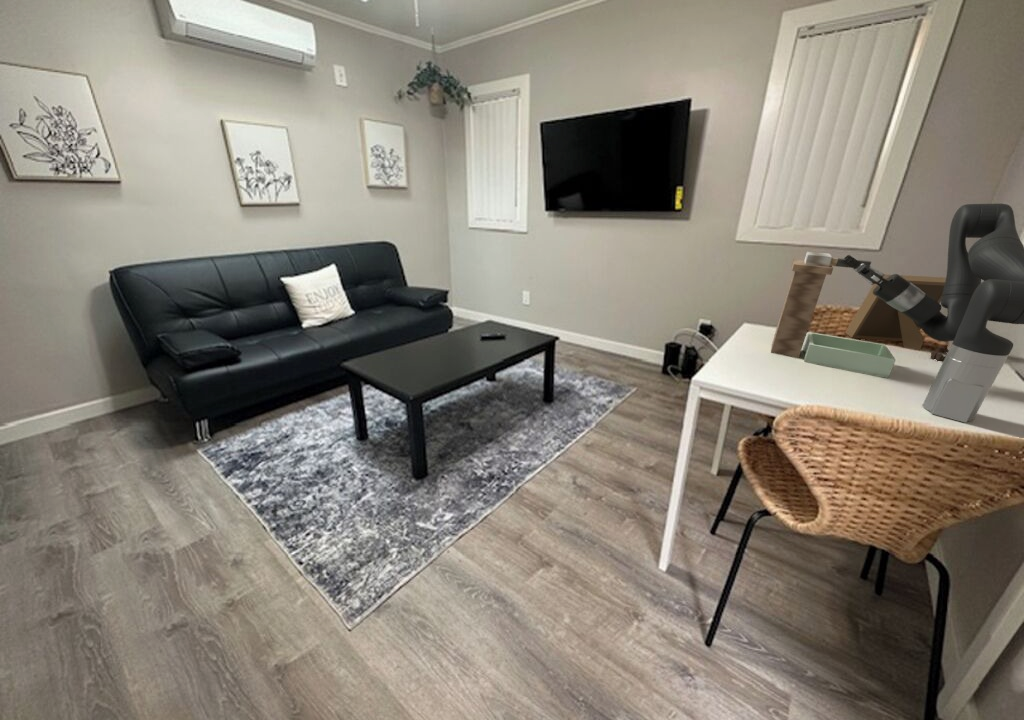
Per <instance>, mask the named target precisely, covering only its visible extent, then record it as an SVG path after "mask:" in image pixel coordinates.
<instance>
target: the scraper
mask: <svg viewBox="0 0 1024 720" xmlns="http://www.w3.org/2000/svg"><path fill="white" fill-rule="evenodd" d="M844 260H845V259H844V258H842V257H841V258H839V257H833V256H832V255H831V253H827V252H825V253H824V252H814V251H806V254H805V257H804V262H805V265H814V266H824V267H829V266H832V267H839V268H840V267H842V268H851V269H853V268H852V267H850V266H849V265H847V264H846V263H845V262H844ZM856 260H857V261H859V262H860V263H862V264H863V263H864V264H865V265H866V266H868V267H870V266H871V264H872V261H870V260H863V259H856ZM860 265H861V264H860Z"/></svg>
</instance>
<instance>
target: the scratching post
mask: <svg viewBox="0 0 1024 720" xmlns="http://www.w3.org/2000/svg"><path fill="white" fill-rule="evenodd" d="M804 260H805V259H804ZM804 260H803V259H795V258H794V259H792V262H791V272H792V273H793V274H792V276H791V280H790V283H789V286H788V290H787V292H786V297H785V299H784V303H783V306H782V308H781V313H780V316H779V320H778V322H777V326H776V329H775V332H774V335H773V338H772V339H773V340H772V343H771V348H770V353H772V354H775V355H781V356H786V357H792V358H797V359H799V358H800V354H801V352H802V350H803V346H804V343H805V340H806V337H807V334H808V332H809V328H810V325H811V321H812V319H813V316H814V313H815V309H816V308H817V303H818V301H819V297H820V295H821V292H822V288H823V285H824V282H825V279H826V276H828V275H829V276H831V275H832V273H833V270H834V266H829V267H824V266H814V265H805V262H804Z"/></svg>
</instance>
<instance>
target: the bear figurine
mask: <svg viewBox="0 0 1024 720" xmlns="http://www.w3.org/2000/svg"><path fill="white" fill-rule="evenodd" d="M939 351H942V352H943V353H946V354H947V353H948V351H949V349H948V348H947V347H945V348H944V347H940V348H939ZM943 353H939V352H937V351H931V353H930V359H931V360H934V359H936V360H937V361H936V360H935V361H936V362H938V361H942V362H943V361H944V359H945V357H946V355H943Z"/></svg>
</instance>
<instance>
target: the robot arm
mask: <svg viewBox="0 0 1024 720" xmlns="http://www.w3.org/2000/svg"><path fill="white" fill-rule="evenodd" d="M1016 227H1017V226H1016V221H1015V213H1014V209H1013V207H1012V206H1010V205H1009V204H1007V203H967V204H962V205H961V206H960V207H958V209H956V211H955V213H954V214H953V216H952V220H951V223H950V227H949V234H948V235H949V236H948V249H947V265H946V266H947V267H946V277H945V278H946V281H945V285H944V289H943V293H942V298H941V302H940V303H938V302H937V301H936V300H934V299H933V298H931V297H930V296H928V295H927V294H925V293H924V292H922V291H921V290H920V289H919V288H918V287H916V286H915V285H913V284H912V283H910V282H909V281H907V280H906V279H904V278H903V277H901V276H900V275H901V274H899V273H898V274H897V273H894V274H893V273H892V274H890V275H891V276H889V277H888V278H883V276H884V275H886V273H883V272H882V271H881V270H877V269H876V268H874V267H873V266H871V265H870V267H868V266H866V265H865V264H864V263H863V264H862V263H860V262H859V261H857V260H858V259H856V258H854V257H853V256H851V254H848V255H846V256H845V257H844V258H843V259H845V260H844V262H845V263H846V264H847V265H849V266H850V267H852V268H851V269H853V270H854V272H857V274H858V275H859V276H860V277H861V278H863V279H864V280H865V281H866V282H867V283H868V284H869V285H871V286H873V285H874V284H877V285H878V286H877V287H875V289H874V290H873V294H874V295H875V296H877V297H878V298H880V299H881V300H883V301H884V302H886V303H887V304H889V305H890V306H891V307H893V308H895V309H897V310H899V311H901V312H902V313H904V314H905V315H906V316H908V317H909V318H911V319H913V320H914V321H915V322H916V323H917V325H918V326H919V327H920V328H921V329H920V330H922V331H923V332H924V333H925V334H926V335H927V336H928V337H930V338H931V339H934V340H935V341H938V342H945V343H946V342H952V343H951V345H950V346H949V347H950V348H949V349H948V350H949V351H948V353H946V355H945V356H946V357H945V359H944V361H942V363H941V365H940V368H939V369H938V372H937V374H936V376H935V378H934V380H933V382H932V385H931V387H930V388H929V390H928V392H927V395H926V397H925V399H924V401H923V403H922V407H923V408H924V410H927V411H928V412H930V414H932V415H936V416H939V417H943V418H947V419H950V420H955V421H958V422H962V423H965V424H966V423H967V422H971V421H974V419H975V418H976V415H977V414H978V412H979V410H980V409H981V407H982V405H983V402H984V401H985V399H986V397H987V395H989V394H988V393H989V392H990V390H991V388H992V386H993V384H994V383H995V381H996V379H997V377H998V376H999V374H1000V371H1001V370H1002V368H1003V366H1004V364H1005V363H1006V361H1007V359H1008V358H1009V355H1010V354H1011V352H1012V350H1013V347H1014V343H1013V342H1012V341H1011V340H1010V339H1008V338H1005V337H1004V336H1001V335H999V334H996V333H994V332H992V331H991V330H989V328H987V323H988V321H989V322H994V323H995V322H996V323H997V322H998V323H1003V324H1012V325H1024V244H1023V242H1022V241H1021V239H1020V236H1019V234H1018V231H1017V228H1016ZM967 238H970V239H978V240H976V242H974V243H973V244H972V245H971V247H970V248H969V250H968V248H967V243H966V241H967ZM860 264H861V265H860ZM942 308H944V309H947V316H946V315H944V314H943V313H942V312H941V310H942Z"/></svg>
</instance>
